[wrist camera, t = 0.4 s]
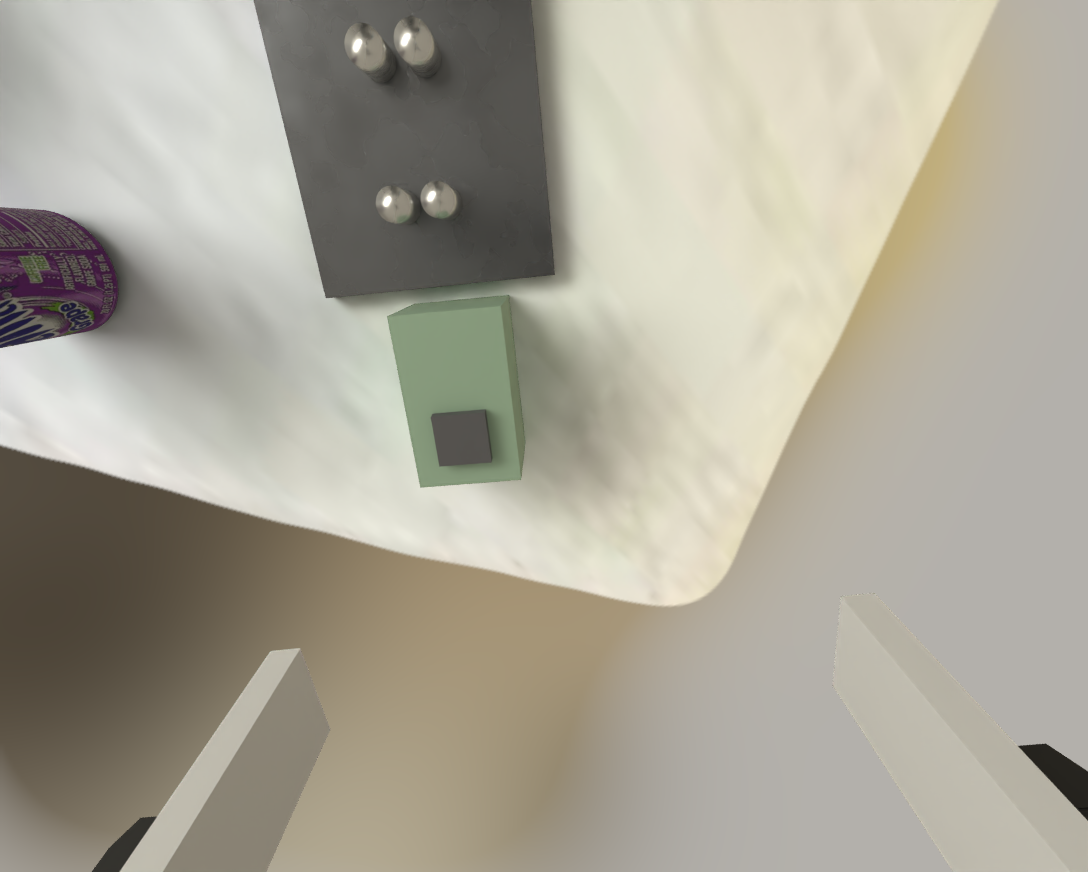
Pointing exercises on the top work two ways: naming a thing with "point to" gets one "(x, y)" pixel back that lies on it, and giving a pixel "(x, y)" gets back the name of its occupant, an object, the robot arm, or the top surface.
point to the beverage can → (51, 277)
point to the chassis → (413, 139)
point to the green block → (460, 390)
